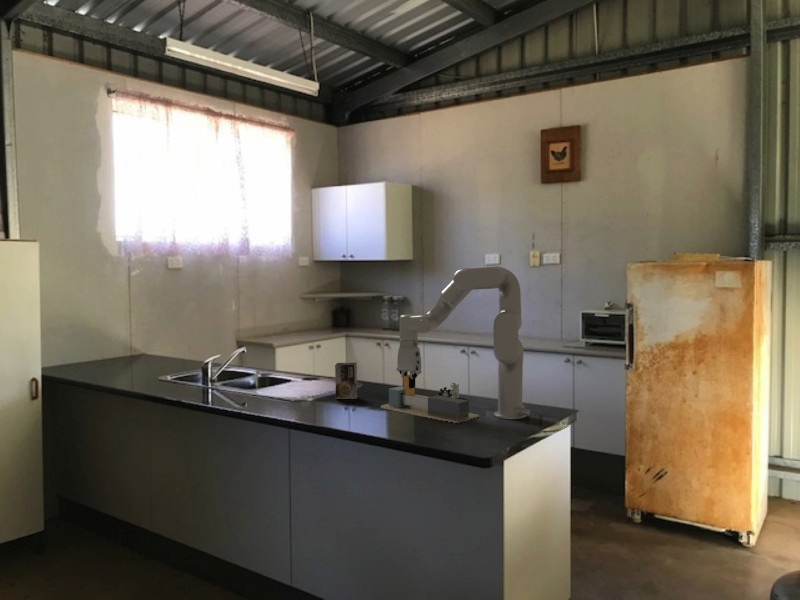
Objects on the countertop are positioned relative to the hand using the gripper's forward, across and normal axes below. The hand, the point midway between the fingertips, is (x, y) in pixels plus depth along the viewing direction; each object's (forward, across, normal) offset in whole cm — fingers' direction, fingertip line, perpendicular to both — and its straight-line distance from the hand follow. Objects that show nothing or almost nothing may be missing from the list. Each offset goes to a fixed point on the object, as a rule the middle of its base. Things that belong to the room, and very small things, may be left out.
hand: (409, 386), depth 269 cm
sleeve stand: (+9, -11, 0) cm, 14 cm away
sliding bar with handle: (+7, -6, 0) cm, 9 cm away
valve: (+10, -1, -26) cm, 28 cm away
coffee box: (+9, +35, +4) cm, 36 cm away
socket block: (+8, +5, 0) cm, 10 cm away
